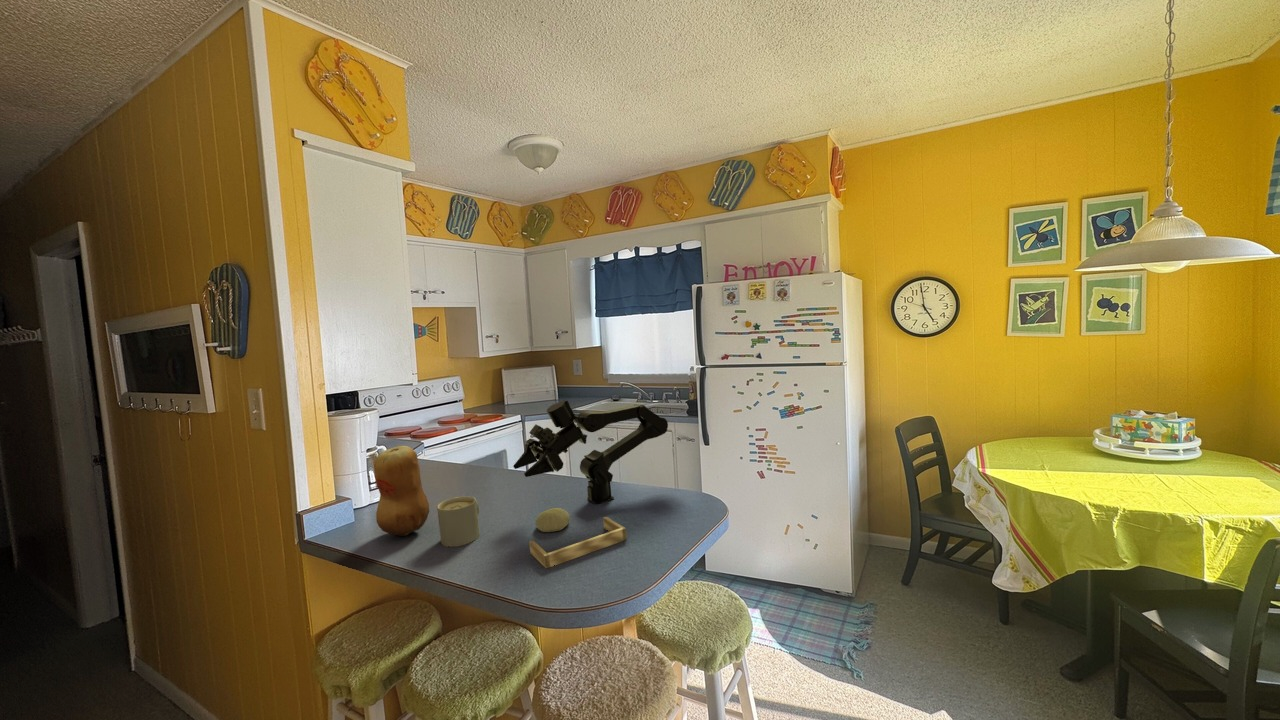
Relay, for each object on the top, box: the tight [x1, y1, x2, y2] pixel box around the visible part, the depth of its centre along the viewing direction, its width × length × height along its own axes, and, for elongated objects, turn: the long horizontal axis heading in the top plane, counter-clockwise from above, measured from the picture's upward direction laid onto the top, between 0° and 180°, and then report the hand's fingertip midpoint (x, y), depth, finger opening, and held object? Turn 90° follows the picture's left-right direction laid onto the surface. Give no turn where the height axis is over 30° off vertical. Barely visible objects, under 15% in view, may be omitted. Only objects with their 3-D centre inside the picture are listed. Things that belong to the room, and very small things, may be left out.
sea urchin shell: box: [535, 507, 571, 533], centre depth 141 cm, size 9×8×8 cm
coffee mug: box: [436, 495, 481, 548], centre depth 139 cm, size 13×10×10 cm
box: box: [529, 516, 627, 569], centre depth 127 cm, size 22×10×3 cm, turn 123°
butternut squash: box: [373, 445, 430, 537], centre depth 143 cm, size 14×13×25 cm
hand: (519, 471), depth 145 cm, fingers open, 9 cm apart
